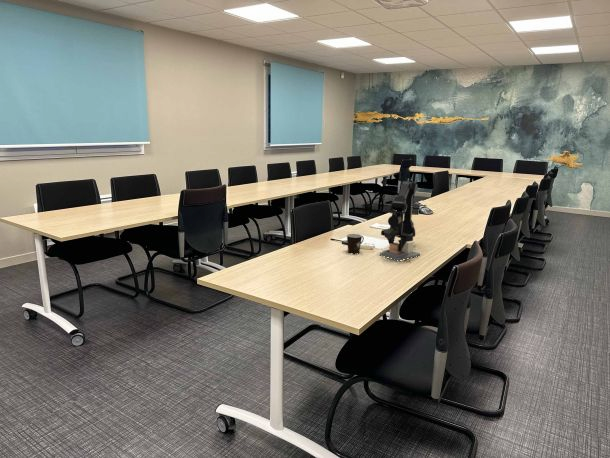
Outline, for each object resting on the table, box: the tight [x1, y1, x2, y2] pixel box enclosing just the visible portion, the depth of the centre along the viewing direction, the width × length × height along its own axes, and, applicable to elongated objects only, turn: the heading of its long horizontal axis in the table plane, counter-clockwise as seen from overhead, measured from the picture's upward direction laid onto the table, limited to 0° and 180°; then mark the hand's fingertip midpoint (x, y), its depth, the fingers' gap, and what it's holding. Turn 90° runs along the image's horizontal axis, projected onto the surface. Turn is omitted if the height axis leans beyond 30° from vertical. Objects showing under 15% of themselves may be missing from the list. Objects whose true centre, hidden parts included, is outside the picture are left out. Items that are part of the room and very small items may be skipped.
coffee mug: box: [346, 233, 365, 255], centre depth 244 cm, size 12×9×10 cm
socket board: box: [379, 240, 421, 262], centre depth 239 cm, size 18×14×8 cm
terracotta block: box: [388, 242, 402, 255], centre depth 237 cm, size 5×5×6 cm
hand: (395, 250), depth 237 cm, fingers open, 6 cm apart
